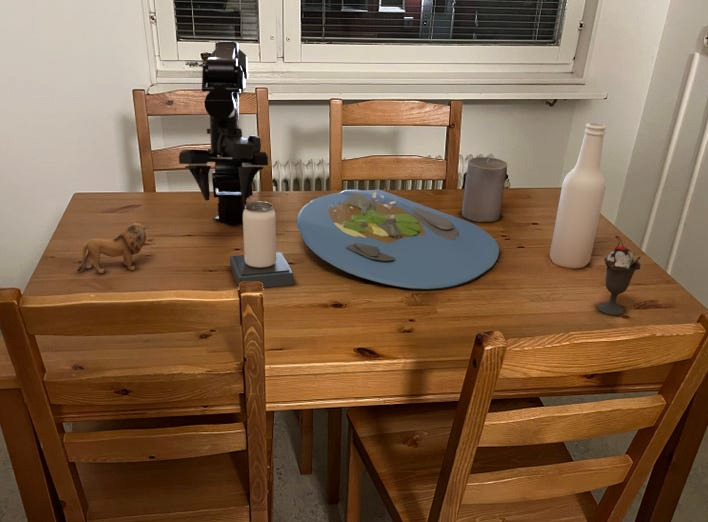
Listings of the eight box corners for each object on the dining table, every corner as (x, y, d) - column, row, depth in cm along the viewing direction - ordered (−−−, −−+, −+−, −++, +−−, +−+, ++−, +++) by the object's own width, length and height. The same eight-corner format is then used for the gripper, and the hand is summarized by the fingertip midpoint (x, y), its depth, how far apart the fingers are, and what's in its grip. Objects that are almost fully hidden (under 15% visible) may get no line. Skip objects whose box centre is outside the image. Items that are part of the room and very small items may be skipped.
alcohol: (546, 265, 163) (571, 126, 147) (551, 250, 170) (576, 117, 154) (587, 272, 160) (617, 131, 145) (590, 257, 167) (619, 122, 152)
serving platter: (525, 271, 172) (541, 223, 165) (408, 331, 144) (421, 276, 137) (383, 197, 194) (391, 152, 187) (257, 237, 166) (261, 186, 159)
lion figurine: (146, 258, 158) (142, 218, 154) (152, 267, 154) (147, 227, 150) (75, 268, 153) (68, 227, 148) (79, 278, 149) (72, 236, 144)
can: (278, 268, 149) (277, 211, 143) (245, 269, 148) (243, 212, 142) (274, 255, 155) (273, 200, 148) (243, 256, 153) (241, 201, 147)
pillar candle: (472, 206, 194) (479, 149, 186) (506, 215, 189) (515, 157, 181) (454, 216, 187) (461, 157, 179) (489, 225, 182) (497, 165, 174)
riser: (230, 268, 156) (229, 254, 154) (281, 263, 159) (281, 250, 157) (239, 290, 147) (238, 276, 145) (293, 284, 150) (293, 271, 148)
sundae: (587, 301, 148) (603, 231, 140) (620, 301, 148) (637, 231, 140) (600, 317, 142) (617, 244, 134) (633, 317, 143) (652, 244, 135)
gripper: (203, 118, 142) (206, 201, 146) (282, 124, 154) (283, 200, 158) (176, 121, 150) (179, 200, 154) (253, 126, 162) (255, 199, 166)
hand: (226, 200), depth 158 cm, fingers open, 9 cm apart
